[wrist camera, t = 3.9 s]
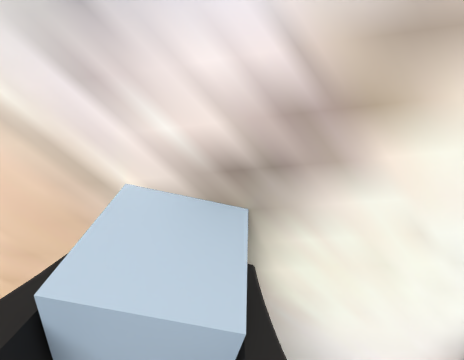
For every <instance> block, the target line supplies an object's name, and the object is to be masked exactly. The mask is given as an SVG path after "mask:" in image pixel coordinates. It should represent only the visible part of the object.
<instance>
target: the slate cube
mask: <svg viewBox="0 0 464 360" xmlns="http://www.w3.org/2000/svg"><path fill="white" fill-rule="evenodd" d="M247 251H248V209H245V208H240V207H235V206H230V205H225V204H221V203H216V202H211V201H206V200H201V199H196V198H192V197H187V196H182V195H177V194H172V193H167V192H163V191H158V190H153V189H148V188H143V187H138V186H134V185H129V184H125V185H124V187H123V188H122V189H121V190H120V191H119V193H118V194H117V195H116V196H115V197H114V199H113V200H112V201H111V202H110V203H109V205H108V206H107V207H106V208H105V210H104V211H103V212H102V213H101V214H100V216H99V217H98V218H97V219H96V220H95V222H94V223H93V224H92V225H91V227H90V228H89V229H88V230H87V231H86V233H85V234H84V235H83V236H82V237H81V239H80V240H79V241H78V242H77V244H76V245H75V246H74V247H73V248H72V250H71V251H70V252H69V253H68V254H67V256H66V257H65V258H64V259H63V260H62V262H61V263H60V264H59V265H58V267H57V268H56V269H55V270H54V271H53V273H52V274H51V275H50V276H49V277H48V279H47V280H46V281H45V282H44V284H43V285H42V286H41V287H40V288H39V290H38V291H37V292H36V293H35V294H34V298H35V301H36V305H37V308H38V311H39V315H40V318H41V321H42V325H43V328H44V331H45V335H46V338H47V341H48V345H49V348H50V351H51V355H52V358H53V360H235V359H236V357H237V355H238V352H239V350H240V347H241V345H242V343H243V340H244V338H245V336H246V307H247Z"/></svg>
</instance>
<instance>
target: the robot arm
mask: <svg viewBox="0 0 464 360" xmlns="http://www.w3.org/2000/svg"><path fill="white" fill-rule="evenodd" d="M66 256H67V254H66V255H65V256H63V257H62V258H61V259H59V260H58V261H57V262H55V263H54V264H52V265H51V266H49V267H48V268H47V269H45V270H44V271H42V272H41V273H39V274H38V275H37V276H35V277H34V278H32V279H31V280H29V281H28V282H26V283H25V284H23V285H21V286H20V287H18V288H17V289H15V290H14V291H12V292H11V293H9V294H8V295H6V296H5V297H3V298H1V299H0V360H53V358H52V355H51V351H50V348H49V345H48V341H47V338H46V335H45V331H44V328H43V325H42V321H41V318H40V315H39V311H38V308H37V305H36V301H35V298H34V294H35V293H36V292H37V291H38V290H39V288H40V287H41V286H42V285H43V284H44V282H45V281H46V280H47V279H48V277H49V276H50V275H51V274H52V273H53V271H54V270H55V269H56V268H57V267H58V265H59V264H60V263H61V262H62V260H63V259H64V258H65V257H66ZM235 360H287V359H286V357H285V355H284V352H283V350H282V348H281V345H280V343H279V340H278V338H277V336H276V333H275V330H274V328H273V325H272V323H271V320H270V317H269V314H268V311H267V309H266V306H265V303H264V300H263V296H262V293H261V290H260V286H259V283H258V279H257V275H256V271H255V267H254V266H253V265H250V264H247V307H246V336H245V338H244V340H243V343H242V345H241V347H240V350H239V352H238V355H237V357H236V359H235Z"/></svg>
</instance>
